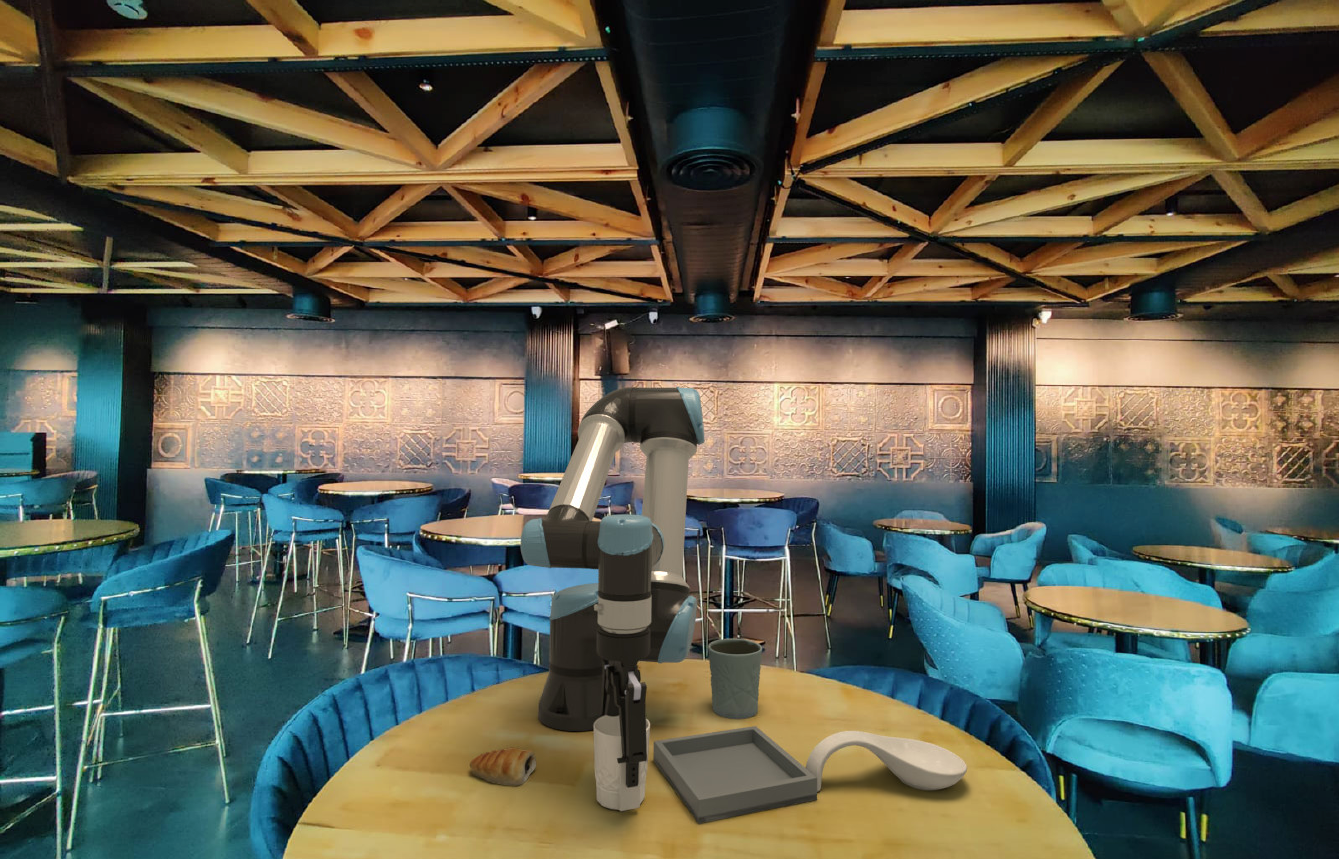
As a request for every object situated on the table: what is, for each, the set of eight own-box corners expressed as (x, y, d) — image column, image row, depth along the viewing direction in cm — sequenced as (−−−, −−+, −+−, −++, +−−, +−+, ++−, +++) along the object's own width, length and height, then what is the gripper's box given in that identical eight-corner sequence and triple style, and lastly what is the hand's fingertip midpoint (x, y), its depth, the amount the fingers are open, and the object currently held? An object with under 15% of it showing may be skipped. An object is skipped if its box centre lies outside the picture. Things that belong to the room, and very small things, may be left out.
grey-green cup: (769, 707, 121) (770, 643, 122) (748, 726, 113) (748, 657, 113) (721, 696, 126) (722, 635, 127) (697, 713, 118) (698, 648, 118)
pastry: (461, 783, 92) (462, 756, 92) (482, 761, 98) (483, 736, 99) (522, 790, 90) (523, 762, 90) (539, 767, 97) (540, 742, 97)
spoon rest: (938, 760, 101) (938, 714, 102) (984, 799, 90) (984, 748, 90) (796, 768, 98) (796, 721, 98) (825, 810, 86) (825, 756, 87)
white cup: (652, 784, 92) (653, 714, 92) (644, 815, 84) (646, 738, 84) (598, 780, 92) (599, 711, 93) (586, 811, 85) (587, 734, 85)
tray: (653, 760, 99) (653, 741, 99) (755, 744, 105) (755, 726, 105) (698, 823, 82) (699, 800, 82) (817, 799, 88) (817, 778, 89)
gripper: (581, 610, 97) (578, 762, 96) (618, 650, 78) (614, 840, 77) (628, 607, 100) (625, 755, 99) (674, 645, 81) (671, 828, 80)
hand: (620, 792), depth 88 cm, fingers closed on white cup, 7 cm apart
